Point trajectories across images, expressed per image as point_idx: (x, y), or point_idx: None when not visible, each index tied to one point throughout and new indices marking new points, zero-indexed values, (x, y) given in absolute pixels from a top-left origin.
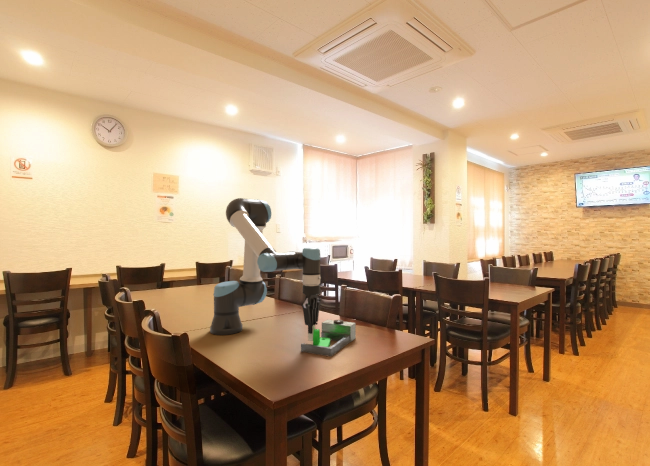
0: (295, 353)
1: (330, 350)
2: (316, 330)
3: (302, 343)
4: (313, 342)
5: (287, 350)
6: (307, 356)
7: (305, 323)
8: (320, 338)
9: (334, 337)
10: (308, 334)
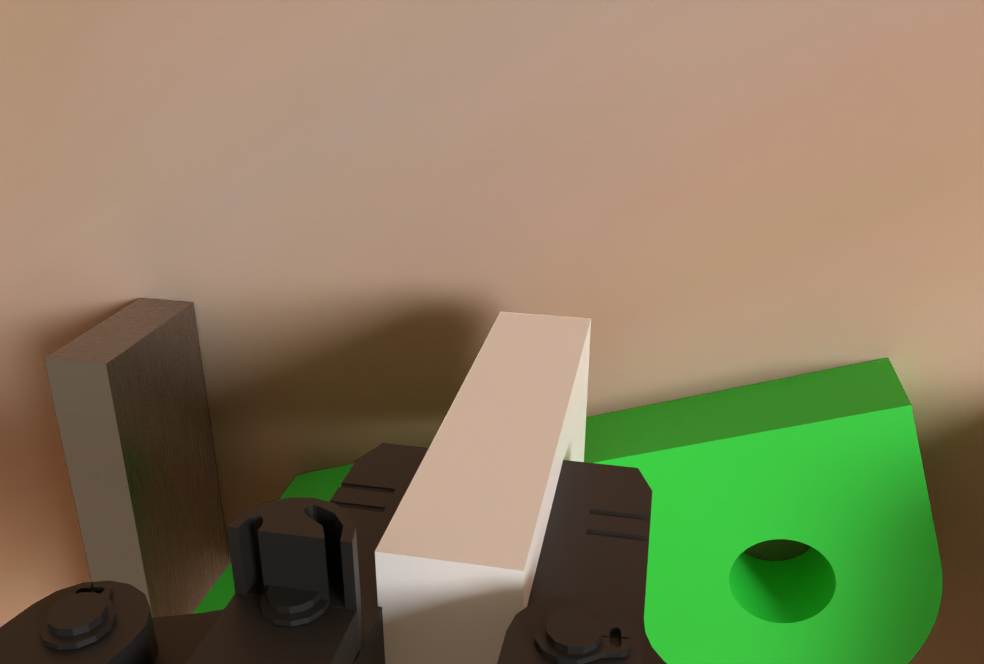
0: (8, 251)
1: None
2: None
3: (85, 377)
4: (229, 578)
5: (30, 12)
6: (29, 487)
7: (16, 648)
8: (814, 507)
9: None
10: (467, 393)
